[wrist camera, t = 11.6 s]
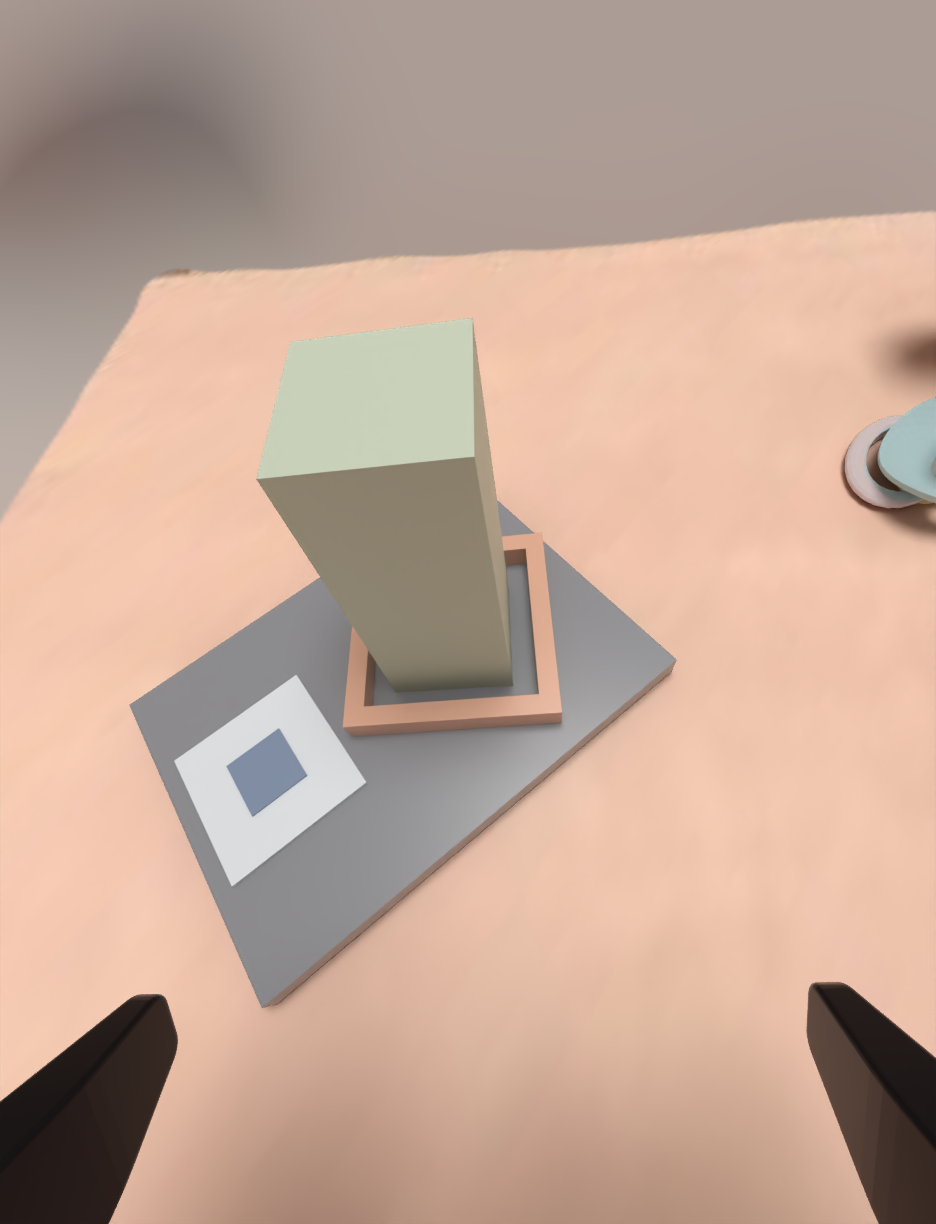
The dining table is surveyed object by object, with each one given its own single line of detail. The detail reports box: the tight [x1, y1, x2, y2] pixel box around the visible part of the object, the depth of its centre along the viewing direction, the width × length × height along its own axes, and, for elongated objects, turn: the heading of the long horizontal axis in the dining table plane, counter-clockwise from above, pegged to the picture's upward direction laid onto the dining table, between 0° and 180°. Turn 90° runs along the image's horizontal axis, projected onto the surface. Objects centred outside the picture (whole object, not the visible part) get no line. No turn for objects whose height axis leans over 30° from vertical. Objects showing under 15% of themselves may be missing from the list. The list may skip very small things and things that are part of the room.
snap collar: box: [343, 533, 562, 736], centre depth 24 cm, size 9×9×1 cm
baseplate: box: [130, 501, 676, 1008], centre depth 25 cm, size 20×14×2 cm
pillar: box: [257, 318, 513, 692], centre depth 19 cm, size 5×5×13 cm
